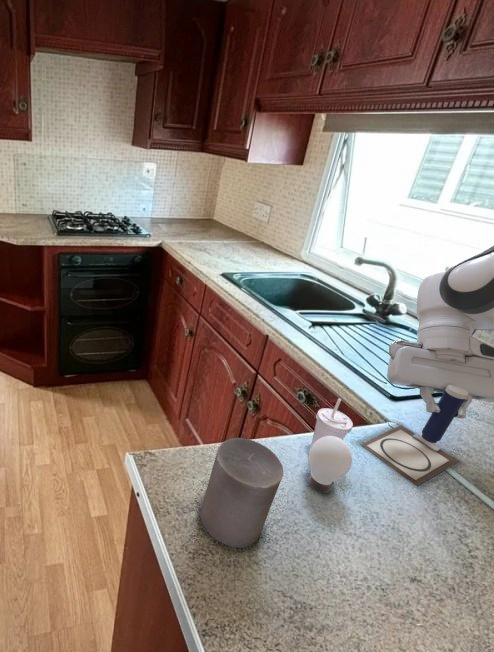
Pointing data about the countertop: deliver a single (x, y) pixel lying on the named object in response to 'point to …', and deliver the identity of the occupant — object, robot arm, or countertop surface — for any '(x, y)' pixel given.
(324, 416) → the smoothie
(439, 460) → the clipboard
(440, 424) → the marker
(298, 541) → the countertop surface
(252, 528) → the pillar candle
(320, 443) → the light bulb
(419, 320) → the robot arm
